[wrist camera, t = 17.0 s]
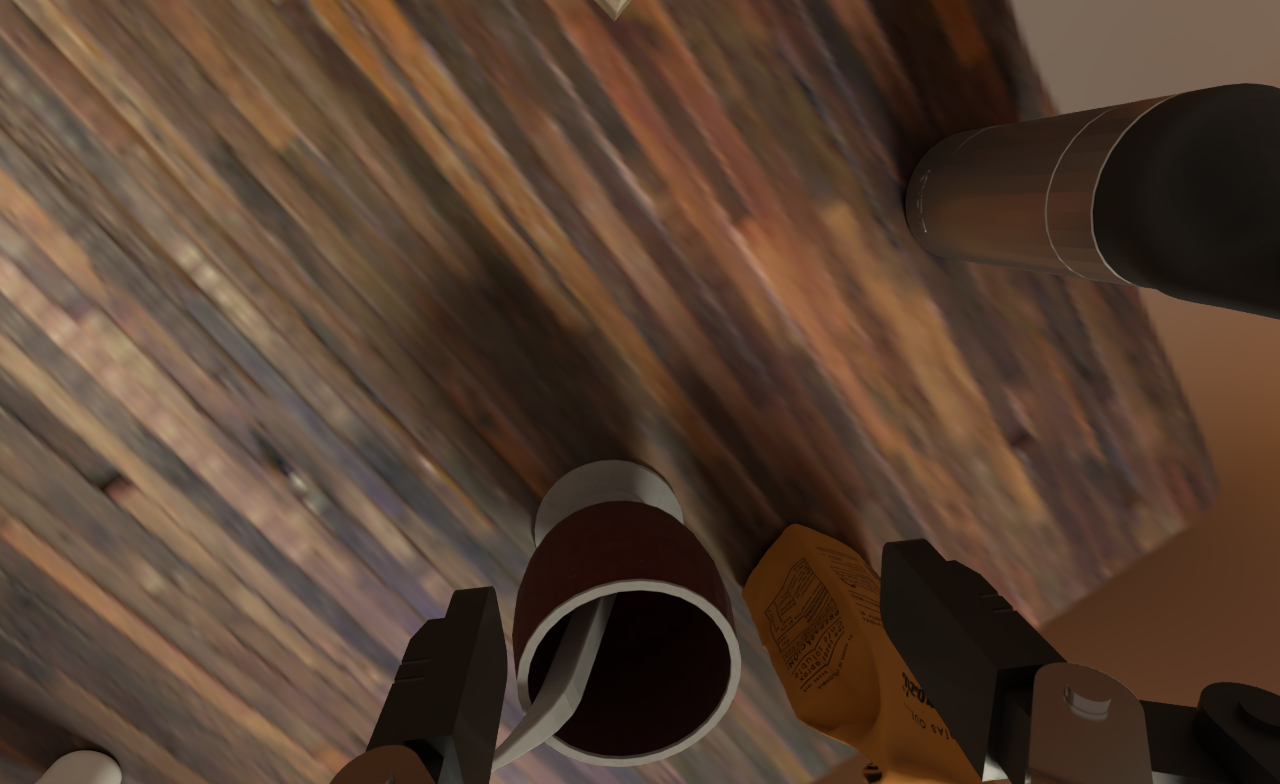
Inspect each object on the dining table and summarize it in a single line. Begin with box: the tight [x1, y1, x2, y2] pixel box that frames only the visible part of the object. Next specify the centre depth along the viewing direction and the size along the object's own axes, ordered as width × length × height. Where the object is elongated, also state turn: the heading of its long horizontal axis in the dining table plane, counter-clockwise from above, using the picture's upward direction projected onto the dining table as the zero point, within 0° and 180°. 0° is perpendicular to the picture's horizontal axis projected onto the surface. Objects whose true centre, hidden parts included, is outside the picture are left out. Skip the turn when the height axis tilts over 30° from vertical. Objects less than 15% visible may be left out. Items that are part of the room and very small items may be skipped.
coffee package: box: [742, 524, 996, 784], centre depth 45 cm, size 10×12×22 cm
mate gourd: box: [491, 460, 741, 773], centre depth 42 cm, size 16×14×20 cm
